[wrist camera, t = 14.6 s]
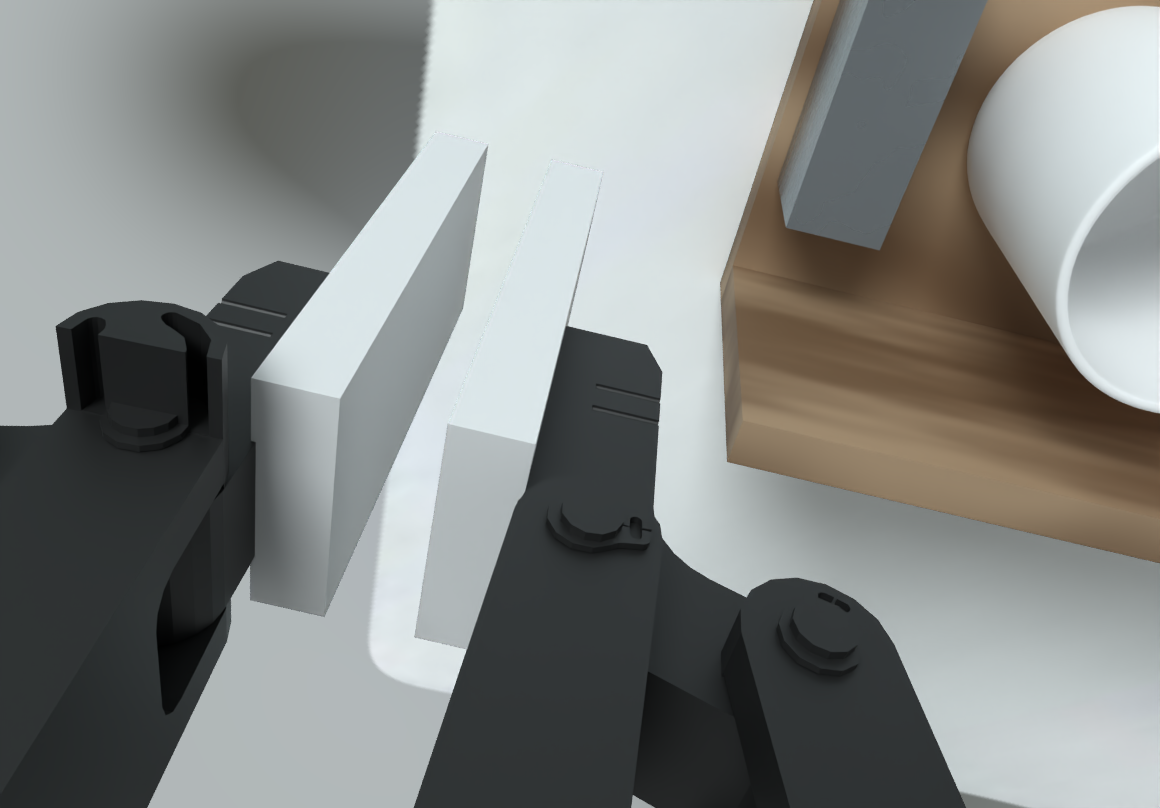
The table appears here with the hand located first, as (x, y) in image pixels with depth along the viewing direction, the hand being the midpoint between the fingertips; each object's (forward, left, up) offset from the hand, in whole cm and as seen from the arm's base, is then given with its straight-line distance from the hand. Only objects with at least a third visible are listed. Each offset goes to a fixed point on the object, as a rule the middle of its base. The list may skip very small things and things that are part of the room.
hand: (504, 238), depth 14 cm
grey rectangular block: (0, +9, -19) cm, 21 cm away
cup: (+1, +18, -19) cm, 26 cm away
